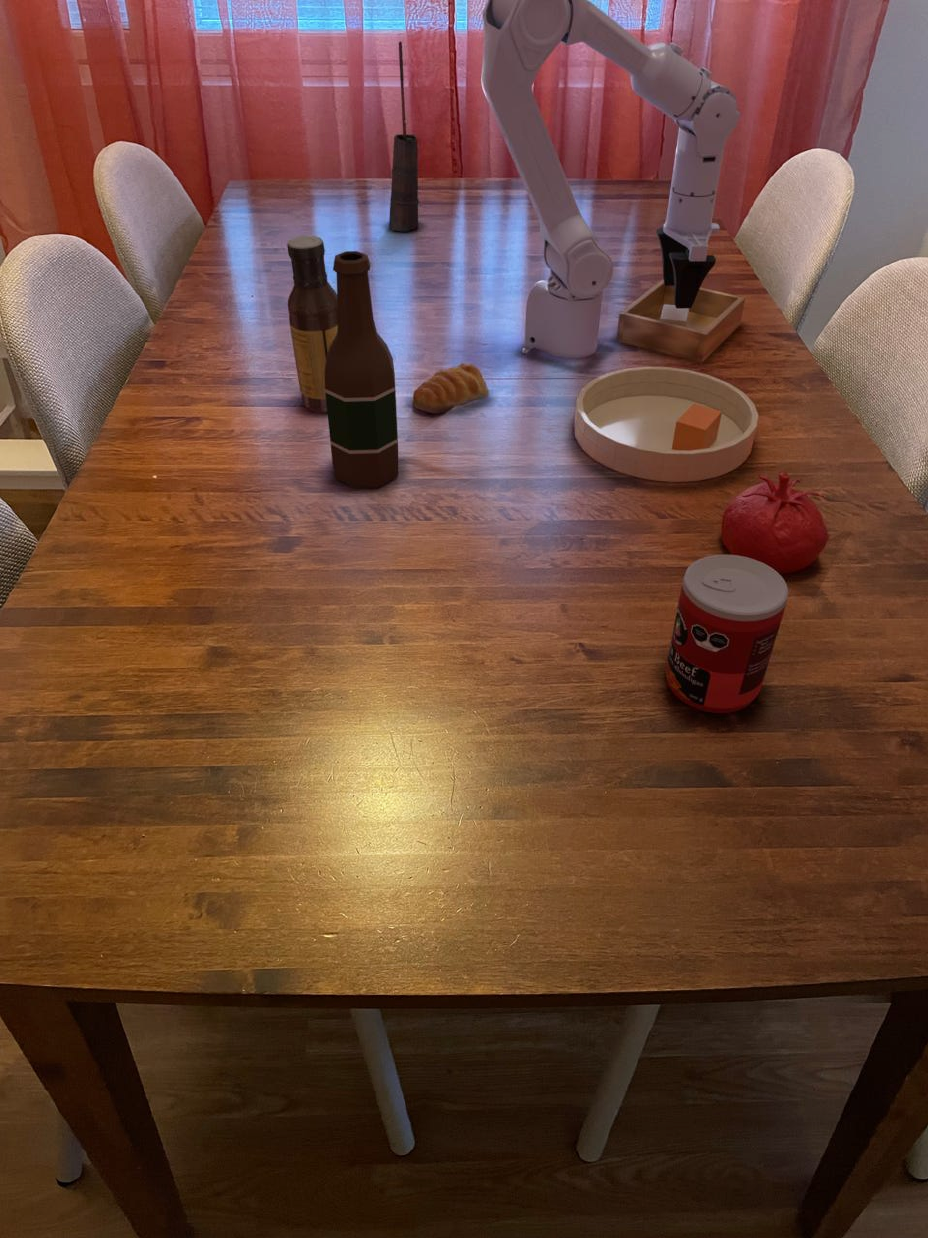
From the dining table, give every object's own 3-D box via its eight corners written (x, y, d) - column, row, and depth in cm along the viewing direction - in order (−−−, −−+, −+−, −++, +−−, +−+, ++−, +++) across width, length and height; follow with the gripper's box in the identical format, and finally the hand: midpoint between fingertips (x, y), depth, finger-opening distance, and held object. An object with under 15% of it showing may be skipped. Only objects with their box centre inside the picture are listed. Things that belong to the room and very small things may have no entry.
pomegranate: (762, 599, 89) (784, 518, 83) (695, 543, 96) (711, 464, 90) (841, 570, 93) (867, 489, 86) (771, 517, 99) (791, 439, 93)
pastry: (433, 423, 114) (432, 394, 112) (400, 403, 118) (399, 374, 116) (492, 400, 118) (493, 372, 116) (459, 381, 122) (459, 353, 120)
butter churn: (432, 238, 162) (429, 50, 144) (377, 238, 162) (366, 50, 144) (434, 220, 169) (431, 39, 151) (381, 220, 169) (372, 38, 151)
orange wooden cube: (671, 448, 108) (676, 421, 106) (688, 430, 111) (693, 403, 109) (700, 457, 106) (705, 429, 104) (716, 438, 110) (722, 411, 107)
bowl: (542, 454, 109) (544, 419, 106) (619, 385, 122) (623, 352, 119) (710, 509, 100) (718, 473, 97) (774, 428, 113) (782, 394, 110)
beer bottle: (412, 460, 108) (404, 246, 92) (385, 496, 102) (372, 275, 86) (349, 448, 110) (331, 237, 94) (320, 483, 104) (295, 264, 88)
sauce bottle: (344, 387, 121) (330, 227, 108) (357, 409, 117) (343, 246, 104) (294, 395, 119) (274, 234, 106) (306, 418, 115) (286, 253, 102)
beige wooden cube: (656, 342, 130) (660, 318, 128) (660, 328, 133) (664, 303, 131) (682, 345, 129) (686, 321, 127) (685, 330, 133) (689, 306, 130)
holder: (615, 341, 131) (619, 312, 129) (658, 305, 141) (662, 278, 138) (701, 363, 126) (706, 334, 124) (740, 325, 136) (745, 297, 133)
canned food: (654, 655, 83) (673, 555, 76) (743, 650, 84) (770, 550, 77) (676, 719, 77) (699, 617, 70) (771, 713, 78) (803, 612, 71)
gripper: (739, 208, 113) (719, 317, 122) (712, 172, 124) (695, 274, 133) (681, 208, 113) (665, 318, 122) (658, 172, 124) (645, 275, 133)
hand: (677, 295), depth 127 cm, fingers open, 7 cm apart
